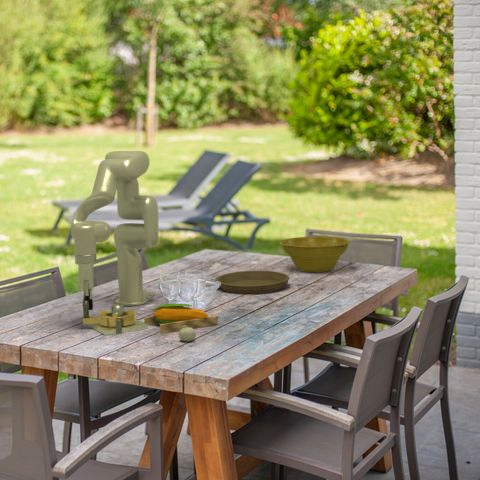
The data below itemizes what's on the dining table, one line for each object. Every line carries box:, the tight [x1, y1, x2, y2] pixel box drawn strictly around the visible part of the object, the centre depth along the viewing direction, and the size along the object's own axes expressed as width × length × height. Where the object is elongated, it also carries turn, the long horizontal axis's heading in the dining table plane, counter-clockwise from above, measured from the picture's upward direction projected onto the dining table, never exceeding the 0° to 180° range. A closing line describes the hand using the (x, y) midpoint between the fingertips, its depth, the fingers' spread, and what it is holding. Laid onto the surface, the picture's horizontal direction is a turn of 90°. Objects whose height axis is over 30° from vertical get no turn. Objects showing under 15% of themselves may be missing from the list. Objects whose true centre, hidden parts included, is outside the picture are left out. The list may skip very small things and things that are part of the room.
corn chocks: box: [143, 308, 219, 335], centre depth 341 cm, size 22×14×3 cm, turn 119°
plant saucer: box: [214, 270, 290, 295], centre depth 404 cm, size 31×31×5 cm
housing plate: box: [87, 303, 149, 336], centre depth 339 cm, size 16×17×8 cm
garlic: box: [178, 325, 197, 343], centre depth 319 cm, size 6×5×5 cm
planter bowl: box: [278, 236, 351, 273], centre depth 439 cm, size 32×32×13 cm
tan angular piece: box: [82, 300, 137, 327], centre depth 340 cm, size 18×12×8 cm
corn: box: [153, 303, 209, 324], centre depth 341 cm, size 7×8×20 cm
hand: (88, 309), depth 344 cm, fingers closed
